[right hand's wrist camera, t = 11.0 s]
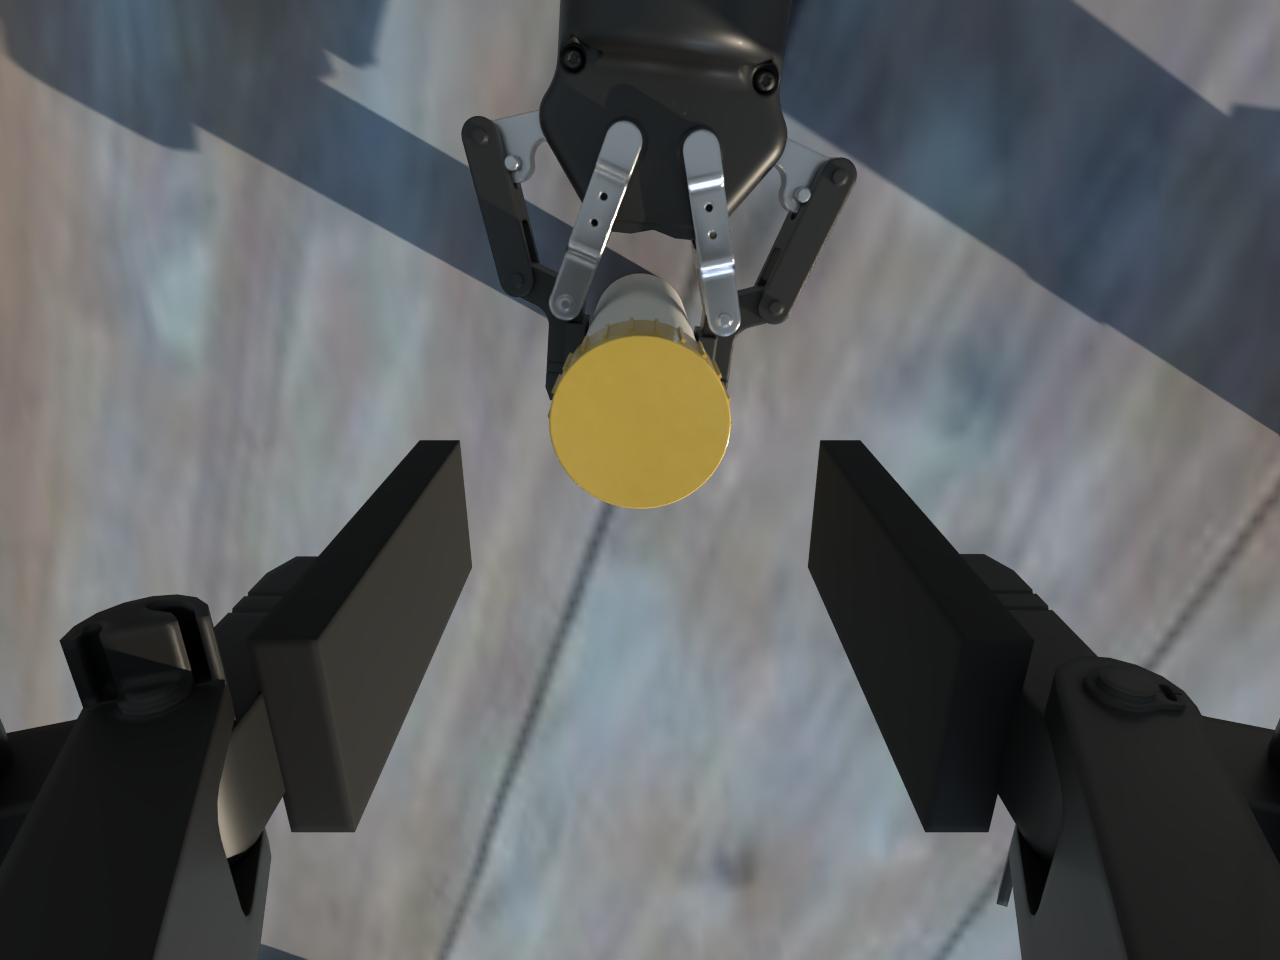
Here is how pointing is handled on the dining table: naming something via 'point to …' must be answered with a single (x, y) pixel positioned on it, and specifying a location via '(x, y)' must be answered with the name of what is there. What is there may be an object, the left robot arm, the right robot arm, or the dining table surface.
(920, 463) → the dining table surface
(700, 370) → the lid
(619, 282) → the jar
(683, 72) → the left robot arm
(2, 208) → the dining table surface
